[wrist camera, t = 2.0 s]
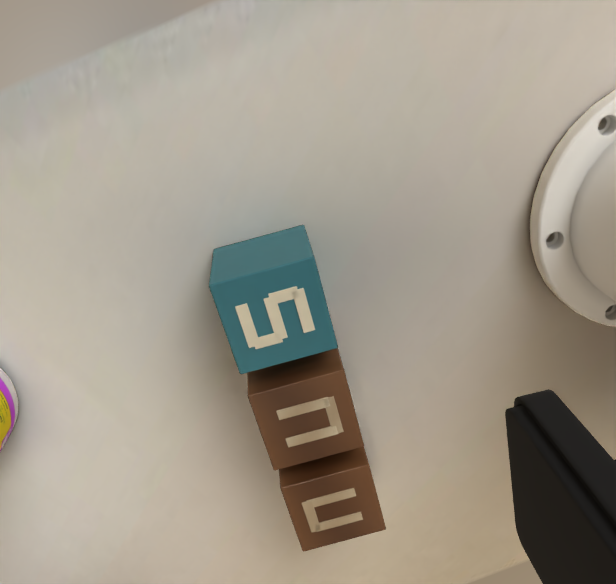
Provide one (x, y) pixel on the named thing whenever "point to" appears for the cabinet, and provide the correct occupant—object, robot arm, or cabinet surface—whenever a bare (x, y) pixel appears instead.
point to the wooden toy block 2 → (332, 499)
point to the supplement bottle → (7, 407)
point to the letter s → (271, 300)
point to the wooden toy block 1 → (304, 409)
